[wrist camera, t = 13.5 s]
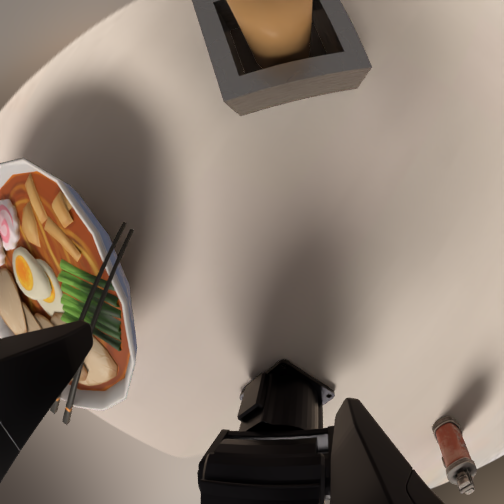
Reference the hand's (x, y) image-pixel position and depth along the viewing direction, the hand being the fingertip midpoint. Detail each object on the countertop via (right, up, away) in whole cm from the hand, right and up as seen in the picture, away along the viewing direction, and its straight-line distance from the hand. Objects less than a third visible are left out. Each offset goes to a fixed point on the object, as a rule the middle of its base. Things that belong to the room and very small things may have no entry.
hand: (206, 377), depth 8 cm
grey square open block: (+3, +18, +8) cm, 20 cm away
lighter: (+26, -18, +15) cm, 35 cm away
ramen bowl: (-16, +2, +16) cm, 23 cm away
